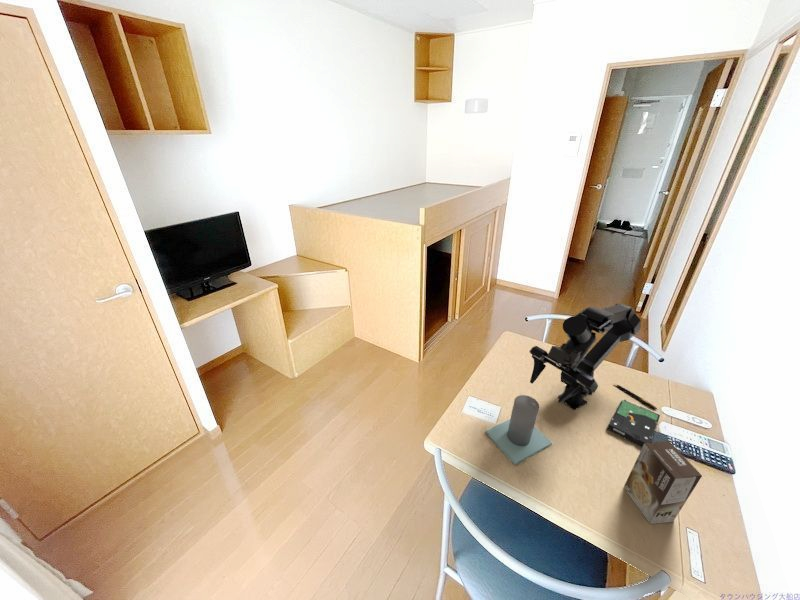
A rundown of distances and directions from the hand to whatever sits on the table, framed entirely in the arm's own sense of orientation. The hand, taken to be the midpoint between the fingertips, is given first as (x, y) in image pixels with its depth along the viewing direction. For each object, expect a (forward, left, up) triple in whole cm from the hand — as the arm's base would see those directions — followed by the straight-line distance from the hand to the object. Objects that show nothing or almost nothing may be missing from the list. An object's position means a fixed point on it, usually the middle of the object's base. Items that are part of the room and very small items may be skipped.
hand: (544, 392), depth 93 cm
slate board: (+8, +1, -14) cm, 16 cm away
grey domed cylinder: (+8, +1, -13) cm, 15 cm away
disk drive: (-27, +13, -14) cm, 33 cm away
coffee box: (-6, +29, -14) cm, 33 cm away
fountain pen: (-39, +6, -14) cm, 42 cm away
